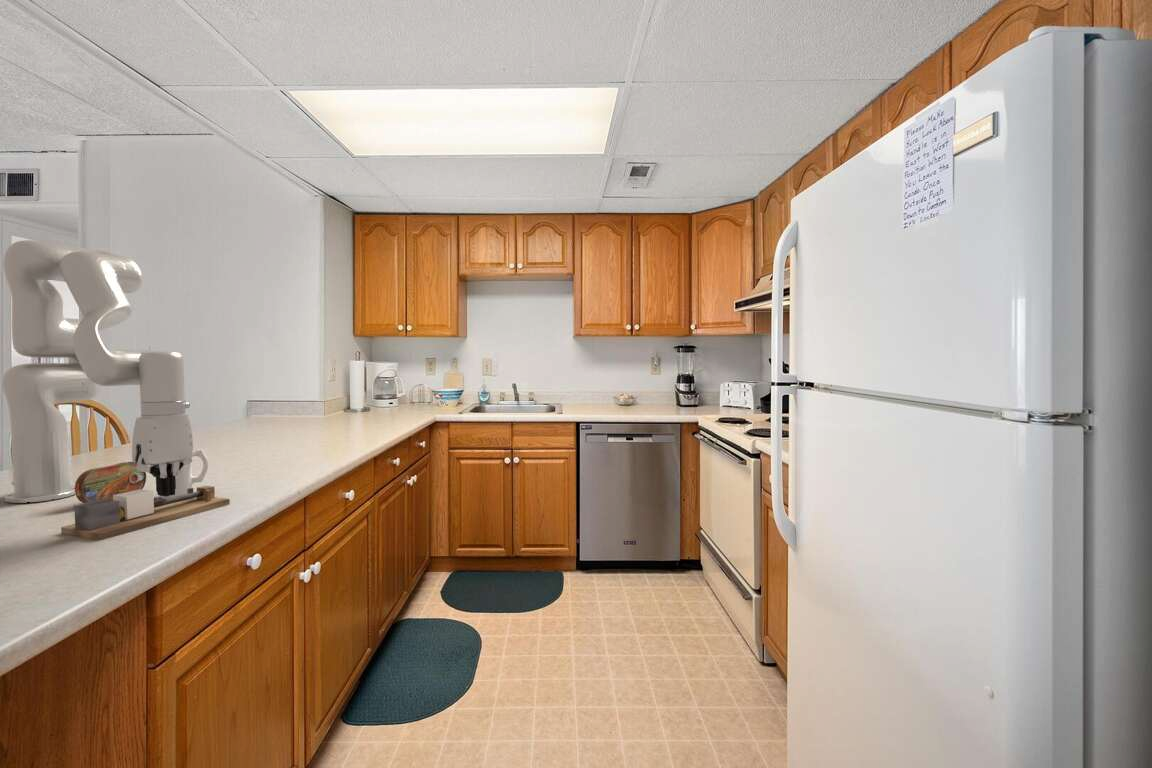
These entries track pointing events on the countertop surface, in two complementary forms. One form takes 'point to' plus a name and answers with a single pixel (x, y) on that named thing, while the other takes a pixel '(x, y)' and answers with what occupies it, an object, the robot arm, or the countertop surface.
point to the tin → (109, 482)
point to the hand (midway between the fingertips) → (166, 494)
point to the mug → (188, 476)
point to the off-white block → (136, 503)
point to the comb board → (110, 520)
